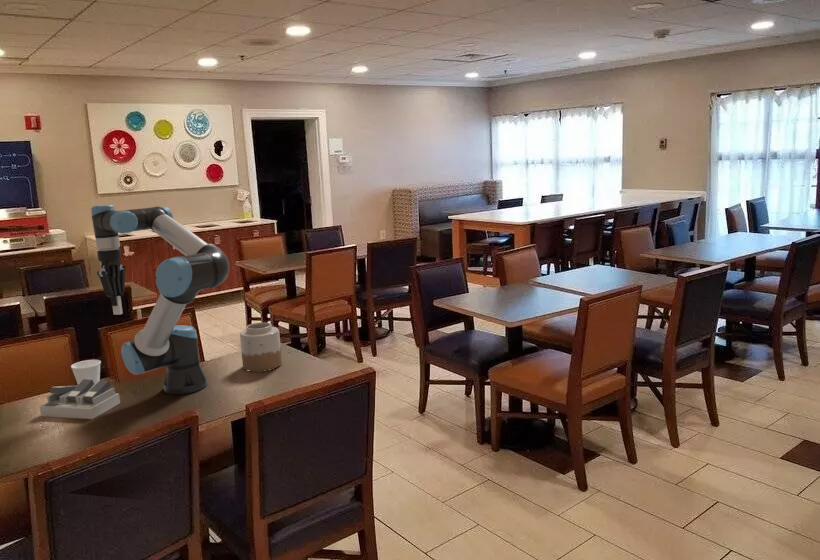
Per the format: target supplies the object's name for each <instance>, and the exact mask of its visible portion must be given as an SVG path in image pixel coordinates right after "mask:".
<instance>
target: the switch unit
mask: <svg viewBox="0 0 820 560" xmlns="http://www.w3.org/2000/svg"><path fill="white" fill-rule="evenodd" d="M72 391H73V390H72ZM72 391H70V392H68V393H62V394H53V393H50V394H48V395H47V396H46V399H47V402H45V403H44V404H42V405H40V406H39V411H40V416H41V417H50V418H51V417H52V418H67V419H68V418H69V419H83V420H84V419H85V420H93V419H94V418H97V417H98V416H100V415H102V414H104V413H105V412H107V411H109V410H111V409H112V408H114V407H116V406H117V405H119V404H121V398H120V393H116V389H115V387H111V388H110V389H109V388H108V389H107V390H106V391H105V392H104V393H102V394H100V395H98V396H96V397H94V398H92V400H93V402H85V400H84V398H83V396H84V395H85V394H87V393H88V392H89V391H88V392H86V393H84V394H82V395H80V396H78V397H76V402H74V401H69V400H68V398H67V396H68V395H69V394H70V393H71V392H72Z"/></svg>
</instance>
